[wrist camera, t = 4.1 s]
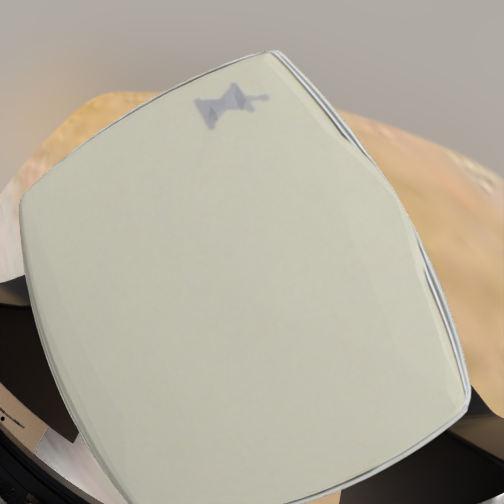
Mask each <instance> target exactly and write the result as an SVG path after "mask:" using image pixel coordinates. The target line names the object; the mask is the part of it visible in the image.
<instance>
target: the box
mask: <svg viewBox="0 0 504 504" xmlns="http://www.w3.org/2000/svg"><path fill="white" fill-rule="evenodd" d="M19 224H20V235H21V245H22V254H23V263H24V271H25V277H26V282H27V286H28V291H29V296H30V301H31V306H32V310H33V314H34V318H35V322H36V325H37V329H38V333H39V336H40V339H41V342H42V346H43V349H44V352H45V355H46V358H47V361H48V363H49V366H50V369H51V372H52V374H53V377H54V379H55V382H56V384H57V387H58V389H59V392H60V394H61V396H62V399H63V401H64V403H65V405H66V407H67V409H68V412H69V414H70V415H71V417H72V419H73V421H74V423H75V425H76V426H77V428H78V430H79V432H80V434H81V436H82V438H83V439H84V441H85V443H86V445H87V447H88V448H89V450H90V451H91V453H92V454H93V456H94V457H95V459H96V460H97V462H98V463H99V465H100V466H101V468H102V470H103V471H104V472H105V474H106V475H107V477H108V478H109V479H110V481H111V482H112V483H113V485H114V486H115V487H116V489H117V490H118V491H119V493H120V494H121V495H122V496H123V498H124V499H125V500H126V501H127V502H128V504H303V503H306V502H309V501H313V500H316V499H319V498H322V497H325V496H327V495H330V494H333V493H335V492H338V491H340V490H343V489H345V488H347V487H349V486H352V485H354V484H356V483H358V482H360V481H362V480H365V479H367V478H369V477H371V476H373V475H375V474H377V473H378V472H380V471H382V470H384V469H386V468H388V467H390V466H391V465H393V464H395V463H397V462H398V461H400V460H402V459H403V458H405V457H407V456H408V455H410V454H412V453H413V452H415V451H416V450H418V449H419V448H421V447H422V446H424V445H425V444H427V443H428V442H430V441H431V440H433V439H434V438H435V437H437V436H438V435H439V434H441V433H442V432H443V431H445V430H446V429H447V428H449V427H450V426H451V425H453V424H454V423H455V422H456V421H458V420H459V419H460V418H461V417H462V416H463V415H464V414H465V413H466V412H467V410H468V406H469V403H470V399H471V384H470V378H469V374H468V369H467V365H466V361H465V357H464V353H463V349H462V345H461V341H460V338H459V335H458V331H457V328H456V325H455V322H454V319H453V317H452V314H451V311H450V308H449V305H448V302H447V299H446V297H445V294H444V291H443V289H442V286H441V284H440V281H439V279H438V276H437V274H436V272H435V269H434V267H433V265H432V262H431V260H430V258H429V256H428V254H427V251H426V249H425V247H424V245H423V243H422V241H421V239H420V237H419V235H418V233H417V231H416V229H415V227H414V225H413V223H412V221H411V220H410V218H409V216H408V214H407V212H406V211H405V209H404V207H403V205H402V203H401V201H400V199H399V197H398V196H397V194H396V192H395V191H394V189H393V188H392V186H391V185H390V183H389V182H388V181H387V179H386V178H385V176H384V175H383V173H382V172H381V170H380V169H379V167H378V166H377V164H376V163H375V161H374V160H373V159H372V157H371V156H370V154H369V153H368V151H367V150H366V149H365V147H364V146H363V144H362V143H361V142H360V140H359V139H358V138H357V136H356V135H355V134H354V132H353V131H352V130H351V129H350V127H349V126H348V125H347V123H346V122H345V121H344V120H343V118H342V117H341V116H340V115H339V113H338V112H337V111H336V110H335V109H334V107H333V106H332V105H331V104H330V103H329V101H328V100H327V99H326V98H325V97H324V96H323V94H322V93H321V92H320V91H319V90H318V89H317V88H316V87H315V86H314V84H312V82H311V81H310V80H309V79H308V78H307V77H306V76H305V75H304V74H303V73H302V72H301V71H300V70H299V69H298V68H297V67H296V66H295V65H294V64H293V63H292V62H291V61H290V60H289V59H288V58H287V57H286V56H285V55H284V54H283V53H282V52H280V51H278V50H269V51H265V52H261V53H255V54H251V55H248V56H245V57H242V58H239V59H236V60H233V61H231V62H228V63H226V64H223V65H221V66H219V67H217V68H215V69H212V70H209V71H207V72H205V73H203V74H200V75H198V76H195V77H193V78H191V79H189V80H187V81H185V82H183V83H181V84H179V85H177V86H175V87H173V88H171V89H169V90H167V91H165V92H163V93H161V94H159V95H157V96H155V97H153V98H152V99H150V100H148V101H146V102H144V103H143V104H141V105H139V106H137V107H136V108H134V109H132V110H131V111H129V112H128V113H126V114H125V115H123V116H121V117H120V118H118V119H117V120H115V121H114V122H112V123H111V124H109V125H108V126H106V127H105V128H103V129H102V130H100V131H99V132H97V133H96V134H95V135H93V136H92V137H91V138H89V139H88V140H87V141H85V142H84V143H82V144H81V145H80V146H78V147H77V148H76V149H74V150H73V151H72V152H71V153H70V154H68V155H67V156H66V157H65V158H64V159H62V160H61V161H60V162H59V163H57V164H56V165H55V166H54V167H52V168H51V169H50V170H49V171H48V172H47V173H46V174H44V175H43V176H42V177H41V178H40V179H39V180H38V181H37V182H36V183H35V184H34V185H33V186H32V187H31V188H30V189H29V190H28V191H27V192H26V193H25V194H24V195H23V197H22V198H21V200H20V204H19Z"/></svg>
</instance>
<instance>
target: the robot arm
mask: <svg viewBox="0 0 504 504" xmlns="http://www.w3.org/2000/svg"><path fill="white" fill-rule="evenodd" d="M48 427H51V428H52V429H53V430H55V431H56V432H57V433H59V434H60V435H61V436H63V437H64V438H66V439H67V440H68V441H70V442H71V443H74V441H75V439H76V437H77V435H78V433H79V430H78V428H77V426H76V425H75V423H74V421H73V419H72V417H71V415H70V414H69V412H68V409H67V407H66V405H65V403H64V401H63V399H62V396H61V394H60V392H59V389H58V387H57V384H56V382H55V379H54V377H53V374H52V372H51V369H50V366H49V363H48V361H47V358H46V355H45V352H44V349H43V346H42V342H41V339H40V336H39V333H38V329H37V325H36V322H35V318H34V314H33V310H32V306H31V301H30V296H29V291H28V286H27V282H26V277H25V275H23V276H20V277H17V278H15V279H12V280H9V281H6V282H2V283H0V504H104V503H102V502H100V501H98V500H97V499H95V498H93V497H92V496H90V495H89V494H87V493H85V492H84V491H82V490H81V489H79V488H78V487H76V486H75V485H73V484H72V483H71V482H69V481H68V480H66V479H65V478H64V477H62V476H61V475H59V474H58V473H57V472H56V471H54V470H53V469H52V468H50V467H49V466H48V465H47V464H45V463H44V462H43V461H42V460H40V459H39V458H38V457H37V456H36V455H35V454H33V453H34V451H35V449H36V448H37V446H38V444H39V442H40V441H41V439H42V437H43V435H44V434H45V432H46V430H47V429H48ZM339 504H504V418H501V417H499V416H498V415H496V414H495V413H494V412H493V411H491V410H490V409H489V407H488V406H487V405H486V404H485V402H484V401H483V400H482V398H481V397H480V396H479V394H478V393H477V392H476V391H475V389H474V388H473V387H472V385H471V399H470V403H469V406H468V410H467V412H466V413H465V414H464V415H463V416H462V417H461V418H460V419H459V420H458V421H456V422H455V423H454V424H453V425H451V426H450V427H449V428H447V429H446V430H445V431H443V432H442V433H441V434H439V435H438V436H437V437H435V438H434V439H433V440H431V441H430V442H428V443H427V444H425V445H424V446H422V447H421V448H419V449H418V450H416V451H415V452H413V453H412V454H410V455H408V456H407V457H405V458H403V459H402V460H400V461H398V462H397V463H395V464H393V465H391V466H390V467H388V468H386V469H384V470H382V471H380V472H378V473H377V474H375V475H373V476H371V477H369V478H367V479H365V480H362V481H360V482H358V483H356V484H354V485H352V486H349V487H347V488H345V489H343V490H341V496H340V502H339Z"/></svg>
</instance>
